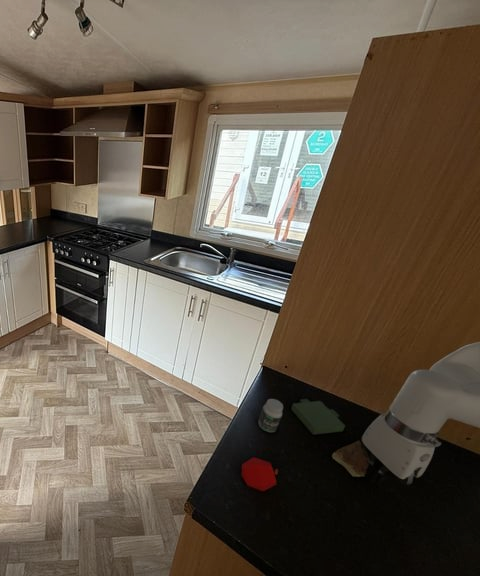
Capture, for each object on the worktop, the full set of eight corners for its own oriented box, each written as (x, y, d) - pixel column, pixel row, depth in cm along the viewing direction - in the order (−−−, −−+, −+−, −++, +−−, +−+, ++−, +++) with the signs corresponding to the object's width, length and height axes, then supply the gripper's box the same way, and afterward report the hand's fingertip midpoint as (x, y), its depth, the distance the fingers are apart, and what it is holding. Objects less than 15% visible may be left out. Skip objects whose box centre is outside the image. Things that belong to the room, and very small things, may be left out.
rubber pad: (318, 402, 96) (320, 397, 95) (346, 430, 86) (349, 425, 85) (288, 405, 94) (290, 400, 93) (313, 434, 85) (315, 429, 84)
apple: (240, 474, 70) (279, 472, 67) (235, 452, 76) (271, 449, 73) (247, 499, 71) (286, 499, 68) (242, 475, 77) (277, 474, 75)
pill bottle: (258, 429, 87) (265, 407, 83) (257, 416, 91) (264, 395, 87) (277, 435, 85) (285, 413, 81) (275, 422, 89) (283, 400, 85)
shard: (358, 443, 83) (360, 438, 82) (390, 469, 77) (394, 464, 76) (329, 456, 80) (331, 451, 79) (361, 484, 73) (364, 479, 73)
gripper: (467, 455, 59) (419, 510, 67) (389, 395, 72) (358, 448, 80) (433, 459, 58) (389, 515, 66) (361, 398, 71) (332, 451, 79)
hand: (372, 478), depth 73 cm, fingers closed
